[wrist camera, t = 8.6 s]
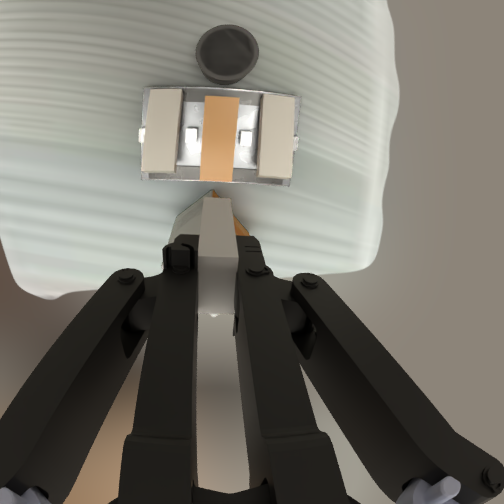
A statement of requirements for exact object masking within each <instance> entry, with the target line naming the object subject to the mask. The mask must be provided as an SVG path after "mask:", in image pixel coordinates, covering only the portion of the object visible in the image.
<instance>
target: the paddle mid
mask: <svg viewBox="0 0 504 504" xmlns="http://www.w3.org/2000/svg"><path fill="white" fill-rule="evenodd" d="M238 108H239V98H237V97H222V96H205V105H204V118H203V132H202V147H201V164H200V181H222V182H232V174H233V162H234V151H235V140H236V129H237V118H238Z"/></svg>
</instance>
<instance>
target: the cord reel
mask: <svg viewBox="0 0 504 504" xmlns="http://www.w3.org/2000/svg"><path fill="white" fill-rule="evenodd" d="M258 55H259V48H258V44H257V42H256V40H255V38H254V37H253V35H252V34H251V33H250V32H249V31H247V30H246V29H244V28H242V27H239V26H236V25H220V26H217V27H214V28H212V29H210V30H209V31H207V32H206V33H205V34H204V35H203V36H202V37H201V38H200V40H199V42H198V44H197V47H196V59H197V62H198V65H199V66H200V68H201V70H202V72H203V74H204V75H205V77H206V78H207V79H209V80H210V81H212V82H213V83H216V84H220V85H229V84H233V83H236V82H238V81H239V80H241V79H242V78H243V77H244V76H245V75H246V74H247V73H249V72H250V71H251V70H252V69H253V67H254V66H255V64H256V62H257V60H258Z"/></svg>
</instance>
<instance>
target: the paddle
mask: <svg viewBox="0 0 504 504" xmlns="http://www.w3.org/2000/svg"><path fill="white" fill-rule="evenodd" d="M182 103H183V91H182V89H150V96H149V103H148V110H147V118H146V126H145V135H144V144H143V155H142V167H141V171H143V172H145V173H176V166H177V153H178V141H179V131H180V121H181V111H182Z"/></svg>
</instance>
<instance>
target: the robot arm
mask: <svg viewBox="0 0 504 504" xmlns="http://www.w3.org/2000/svg"><path fill="white" fill-rule="evenodd" d="M162 251H163V272H162V273H161V274H159V275H156V276H152V277H146V278H144V276H143V273H142V272H140V271H139V270H136V269H130V268H126V269H121V270H118V271H116V272H114V273H113V274H112V275H111V276H110V277H109V278H108V279H107V280H106V282H105V283H104V284H103V285H102V286H101V287H100V288H99V289H98V291H97V292H96V293H95V294H94V295H93V296H92V298H91V299H90V300H89V301H88V302H87V303H86V305H85V306H84V307H83V308H82V309H81V311H80V312H79V313H78V314H77V315H76V317H75V318H74V319H73V320H72V322H71V323H70V324H69V325H68V326H67V328H66V329H65V330H64V331H63V333H62V334H61V335H60V337H59V338H58V339H57V340H56V342H55V343H54V344H53V345H52V347H51V348H50V349H49V351H48V352H47V353H46V355H45V356H44V357H43V359H42V360H41V361H40V363H39V364H38V365H37V367H36V368H35V369H34V371H33V372H32V373H31V375H30V376H29V378H28V379H27V380H26V382H25V383H24V385H23V386H22V388H21V389H20V390H19V392H18V394H17V395H16V397H15V398H14V399H13V401H12V402H11V404H10V405H9V407H8V408H7V410H6V411H5V413H4V415H3V416H2V418H1V419H0V504H63V502H64V501H65V499H66V497H67V496H68V495H69V493H70V491H71V489H72V487H73V485H74V483H75V481H76V479H77V477H78V475H79V473H80V470H81V468H82V466H83V464H84V462H85V460H86V457H87V455H88V453H89V451H90V449H91V447H92V445H93V443H94V440H95V438H96V436H97V434H98V432H99V430H100V428H101V426H102V424H103V422H104V420H105V418H106V416H107V414H108V412H109V410H110V408H111V406H112V404H113V402H114V400H115V398H116V396H117V394H118V392H119V390H120V388H121V387H122V385H123V383H124V381H125V379H126V377H127V375H128V373H129V371H130V369H131V367H132V366H133V363H134V362H135V360H136V358H137V356H138V354H139V353H140V351H141V349H142V347H143V345H144V343H145V341H146V340H147V344H146V350H145V356H144V361H143V366H142V371H141V378H140V383H139V389H138V396H137V402H136V409H135V417H134V423H133V430H132V432H131V434H129V435H127V437H126V439H125V441H124V446H123V453H122V462H121V471H120V481H119V493H118V498H116V499H114V500H113V501H111V502H110V503H109V504H360V503H359V502H357V501H356V500H354V499H353V498H352V497H350V496H348V495H347V493H346V489H345V486H344V482H343V479H342V475H341V472H340V468H339V465H338V462H337V458H336V455H335V451H334V448H333V444H332V442H331V440H330V437H329V436H328V435H327V433H325V432H322V431H320V430H319V429H318V427H317V424H316V420H315V417H314V413H313V410H312V406H311V403H310V399H309V395H308V392H307V389H306V385H305V381H304V378H303V375H302V371H301V367H300V365H301V366H302V368H303V370H304V371H305V373H306V374H307V376H308V378H309V379H310V381H311V382H312V384H313V386H314V387H315V389H316V391H317V392H318V394H319V395H320V397H321V399H322V400H323V402H324V403H325V405H326V406H327V408H328V410H329V411H330V413H331V414H332V416H333V418H334V419H335V421H336V422H337V424H338V425H339V427H340V429H341V430H342V432H343V433H344V435H345V437H346V438H347V440H348V441H349V443H350V444H351V446H352V447H353V449H354V451H355V452H356V454H357V455H358V457H359V459H360V460H361V462H362V463H363V465H364V466H365V468H366V469H367V471H368V472H369V474H370V476H371V477H372V478H373V480H374V481H375V483H376V484H377V485H378V486H379V488H380V489H381V490H382V491H383V492H384V493H385V494H386V495H387V496H388V497H389V498H390V499H391V500H392V501H393V502H395V503H396V504H484V503H486V502H487V501H489V500H491V499H493V498H494V497H496V496H497V495H498V494H500V493H501V492H502V490H503V488H504V467H503V465H502V464H501V463H500V462H499V461H498V460H497V459H496V458H494V457H492V456H491V455H489V454H488V453H486V452H485V451H483V450H482V449H480V448H479V447H477V446H476V445H474V444H473V443H471V442H470V441H468V440H467V439H465V438H464V437H462V436H461V435H459V434H458V433H456V432H455V431H454V430H453V429H452V427H451V426H450V425H449V424H448V422H447V421H446V420H445V419H444V418H443V416H442V415H441V414H440V413H439V411H438V410H437V409H436V408H435V407H434V405H433V404H432V403H431V402H430V400H429V399H428V398H427V397H426V396H425V394H424V393H423V392H422V391H421V390H420V389H419V387H418V386H417V385H416V384H415V383H414V381H413V380H412V379H411V378H410V377H409V375H408V374H407V373H406V372H405V371H404V370H403V368H402V367H401V366H400V365H399V364H398V363H397V361H396V360H395V359H394V358H393V357H392V356H391V354H390V353H389V352H388V351H387V350H386V349H385V348H384V347H383V345H382V344H381V343H380V342H379V341H378V340H377V339H376V337H375V336H374V335H373V334H372V333H371V332H370V330H368V328H367V327H366V326H365V325H364V324H363V323H362V322H361V320H360V319H359V318H358V317H357V316H356V315H355V314H354V313H353V311H352V310H351V309H350V308H349V307H348V306H347V305H346V304H345V303H344V302H343V300H342V299H341V298H340V297H339V296H338V295H337V294H336V293H335V292H334V291H333V290H332V288H331V287H330V286H329V285H328V284H327V283H326V282H325V281H324V280H323V279H322V278H321V277H319V276H317V275H315V274H310V273H300V274H297V275H295V276H294V277H293V281H287V280H283V279H279V278H277V277H275V276H274V275H273V272H272V270H271V269H270V268H269V267H268V266H266V264H265V261H264V257H263V254H262V250H261V246H260V243H259V241H258V240H257V239H256V238H255V237H254V236H240V235H235V227H234V220H233V213H232V205H231V198H213V197H204V200H203V209H202V217H201V227H200V235H194V234H180V235H178V236H177V237H176V238H175V239H174V243H170V244H168V245H166V246H165V247H164V248H163V249H162ZM234 310H235V315H234V328H233V336H235V339H236V351H237V361H238V370H239V381H240V391H241V400H242V410H243V419H244V428H245V437H246V445H247V453H248V462H249V472H250V479H249V480H250V481H249V482H250V483H249V486H250V489H248V490H245V491H241V492H237V493H232V494H228V493H222V492H217V491H213V490H208V489H204V488H200V487H198V475H197V438H196V437H197V436H196V380H197V379H196V377H197V375H196V374H197V336H198V314H199V313H200V314H234ZM147 338H148V339H147ZM299 363H300V364H299Z"/></svg>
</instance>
